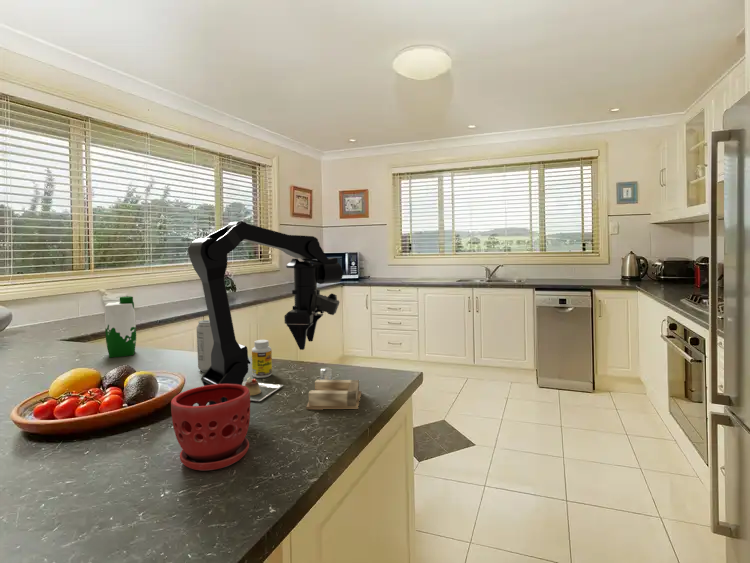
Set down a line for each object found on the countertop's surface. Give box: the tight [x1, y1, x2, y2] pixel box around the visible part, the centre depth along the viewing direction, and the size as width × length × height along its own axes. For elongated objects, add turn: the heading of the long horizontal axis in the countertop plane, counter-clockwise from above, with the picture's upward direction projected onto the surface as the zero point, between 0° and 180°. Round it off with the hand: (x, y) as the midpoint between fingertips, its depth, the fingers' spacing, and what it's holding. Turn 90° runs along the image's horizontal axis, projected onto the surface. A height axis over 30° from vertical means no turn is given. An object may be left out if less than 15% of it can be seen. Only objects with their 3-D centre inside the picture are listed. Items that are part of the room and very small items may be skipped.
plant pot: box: [170, 384, 251, 471], centre depth 77 cm, size 13×13×12 cm
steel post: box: [320, 366, 333, 380], centre depth 116 cm, size 3×3×4 cm
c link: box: [308, 379, 360, 406], centre depth 105 cm, size 11×10×3 cm
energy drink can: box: [196, 319, 214, 373], centre depth 130 cm, size 6×6×15 cm
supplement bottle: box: [251, 339, 273, 379], centre depth 125 cm, size 6×6×10 cm
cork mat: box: [305, 390, 362, 410], centre depth 105 cm, size 11×12×1 cm
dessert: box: [242, 376, 284, 403], centre depth 111 cm, size 12×12×5 cm
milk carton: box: [104, 295, 137, 359], centre depth 149 cm, size 9×9×20 cm
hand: (306, 345), depth 111 cm, fingers open, 9 cm apart
